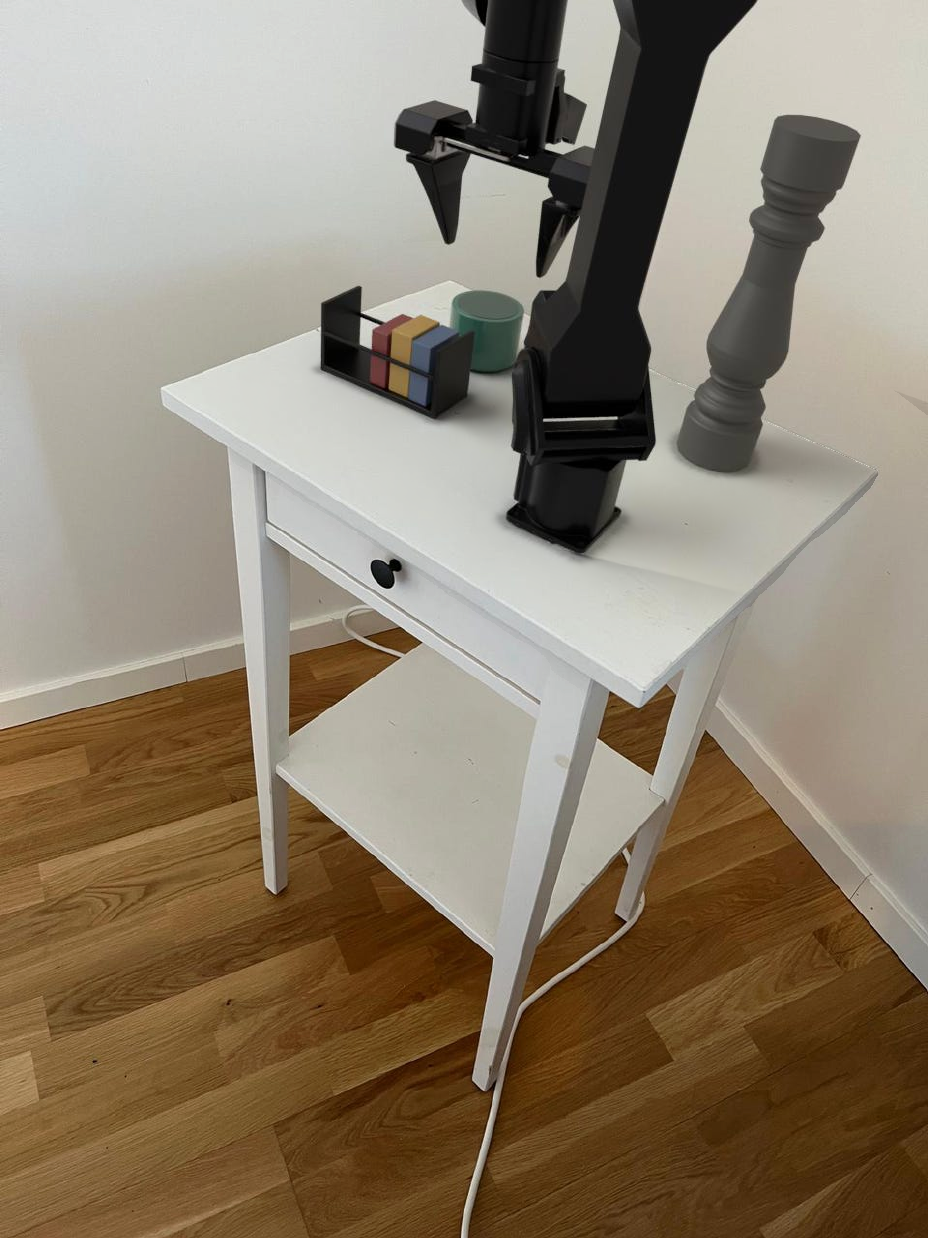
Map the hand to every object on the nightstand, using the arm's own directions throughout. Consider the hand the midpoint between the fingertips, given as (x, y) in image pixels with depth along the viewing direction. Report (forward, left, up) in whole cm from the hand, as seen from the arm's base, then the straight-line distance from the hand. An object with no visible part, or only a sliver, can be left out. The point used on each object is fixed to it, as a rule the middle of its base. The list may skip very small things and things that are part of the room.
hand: (494, 259), depth 83 cm
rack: (+3, +9, -9) cm, 14 cm away
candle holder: (-23, 0, -9) cm, 25 cm away
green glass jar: (0, 0, -9) cm, 9 cm away
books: (+1, +9, -9) cm, 13 cm away
